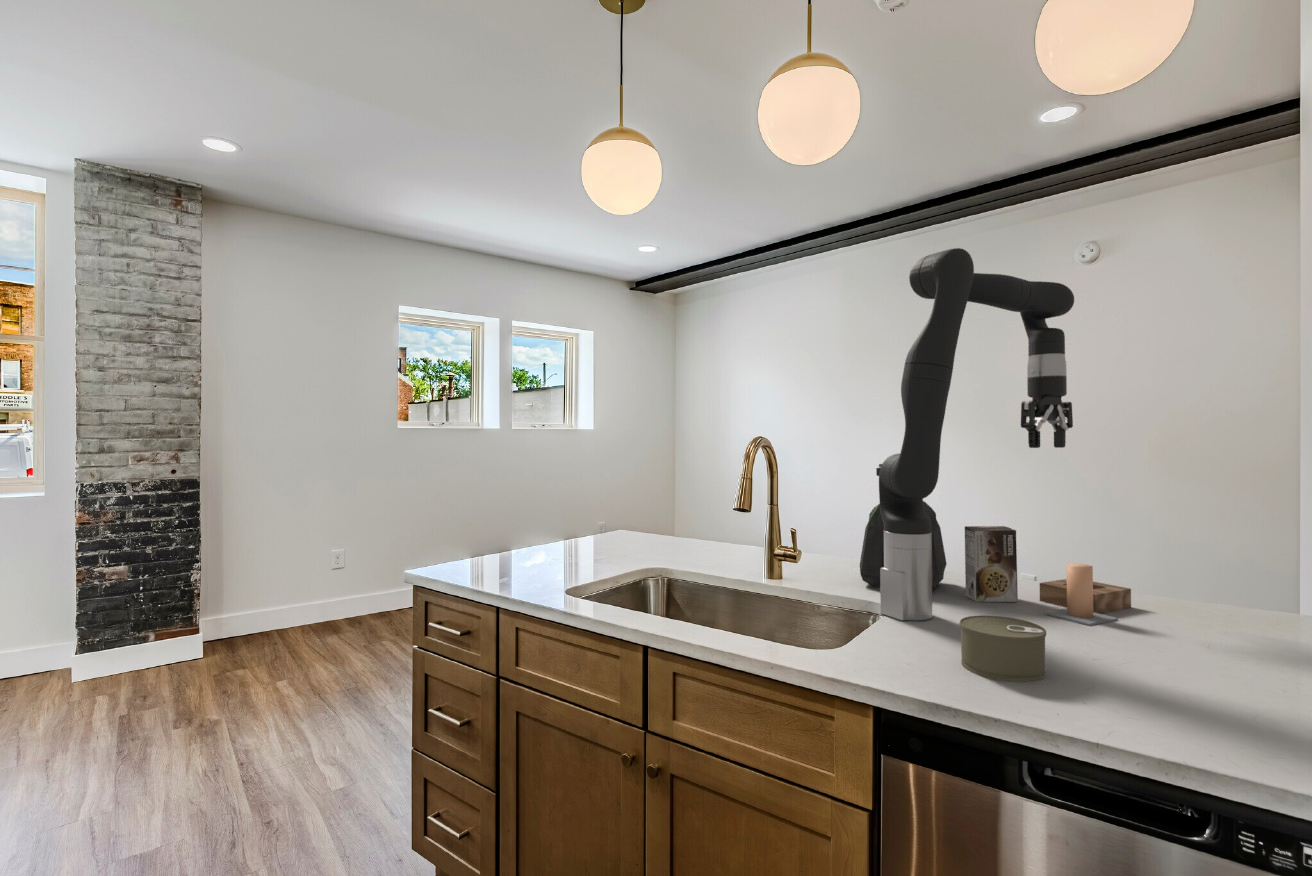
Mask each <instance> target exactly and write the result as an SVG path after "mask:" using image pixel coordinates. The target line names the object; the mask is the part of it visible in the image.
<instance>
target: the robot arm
mask: <svg viewBox="0 0 1312 876" xmlns="http://www.w3.org/2000/svg"><path fill="white" fill-rule="evenodd" d="M974 266H975V265H974V261H973V258H972V256H971V254H970V253H969V252H968V251H967V250H966V249H963V248H960V247H957V248H956V247H955V248H949V249H946V250H942V251H939V252H935V253H932V254H928V255H926V256H923V257H921V258H919V259H918V260H917V261H915V262H914V264H913V265H912V266H911V269H910V272H909V277H908V279H909V284H910V287H911V289H912V291H913V293H914V294H916V295H917V296H919V297H920V298H922V299H927V300H933V304H932V305H933V306H932V310H931V313H930V316H929V318H928V320H927V322H926V323H925V325H924V326H923V329H921V331H920V333H919V335H918V336H917V337H916V339H915V341H914V342H913V343H912V345H911V347H910V348H909V349H908V350H909V351H908V352H907V354H906V358H905V360H904V361H905V362H904V366H903V367H904V368H903V371H902V378H901V385H900V395H901V404H902V408H903V415H904V424H905V425H904V426H905V427H904V435H903V440H902V446H901V449H900V453H894V454H892V455H889V456H888V457H886V458H885V460H884V461H883V462H882V463H881V464H882V466H881V467H879V468H880V472H879V476H878V492H879V493H878V494H879V495H878V498H879V504H880V513H881V517H882V519H883V523H884V567H882V568H881V569H880V587H879V588H880V589H879V590H880V593H879V594H880V614H882V615H886V616H888V617H890V618H894V619H895V620H896V619H897V620H900V621H926V620H930V619H932V618H933V589H932V522H931V519H930V518H929V516H928V515H927V513H926V512H925V509H924V506H923V501H924V499H926V498H927V497H929V495H931V494H932V493H933V492H934V490H935V489H936V486H937V484H938V480H939V473H940V457H941V456H940V455H941V444H942V443H941V441H942V431H943V426H944V421H945V416H946V415H945V414H946V410H947V408H946V407H947V402H948V397H949V393H950V389H951V388H950V387H951V384H952V383H951V382H952V376H953V371H954V364H955V355H956V349H957V347H958V340H959V335H960V330H961V326H962V322H963V318H964V315H965V311H966V307H967V303H968V302H969V303H974V304H975V303H976V304H980V305H985V306H989V307H993V308H998V309H1002V310H1005V311H1010V312H1012V313H1013V312H1015V313H1020V317H1021V320H1022V322H1023V326H1024V329H1025V333H1026V336H1027V340H1028V349H1027V350H1028V351H1027V352H1028V353H1027V354H1028V358H1027V373H1026V374H1027V375H1026V378H1027V379H1026V380H1027V383H1026V384H1027V397H1029V398H1032V400H1023V401H1022V402H1021V403H1020V404H1021V406H1020V427H1021V428H1022V429H1025V430H1026V431H1027V432H1028V434H1027V435H1028V437H1027V438H1028V441H1027V442H1028V447H1029V448H1030V449H1039V448H1040V447H1041V431H1040V430H1041V428H1042V426H1043V425H1044V424H1046V422H1048V424H1051V427H1052V428H1053V430H1054V431H1053V447H1054V448H1056V449H1057V448H1061V449H1062V448H1065V447H1066V439H1067V438H1066V435H1067V434H1066V433H1067V432H1066V431H1068V430H1069V429H1072V428H1073V427H1074V425H1073V422H1074V420H1073V419H1074V417H1073V403H1072V402H1071V401H1062V397H1065V396H1067V394H1068V393H1067V392H1068V391H1067V388H1068V387H1067V385H1068V384H1067V383H1068V382H1067V361H1066V337H1065V331H1064V330H1063V329H1061V328H1058V327H1049V326H1048V324H1047V321H1046V319H1051V318H1056V317H1061V316H1064V315H1065V314H1068V313H1069V312H1070V311H1071V310H1072V309H1073V307H1074V303H1075V295H1074V293H1073V291H1072V290H1071V288H1069V287H1068V286H1067V285H1065V284H1063V283H1059V282H1054V281H1035V280H1034V281H1033V280H1032V281H1030V280H1027V279H1023V278H1019V277H1017V276H1014V275H1013V276H1012V275H1008V274H1007V275H1006V274H1002V273H1001V274H1000V273H982V272H981V273H980V272H977V273H976V272H975V267H974ZM1027 419H1028V422H1027ZM1066 421H1067V422H1066Z"/></svg>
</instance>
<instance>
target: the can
mask: <svg viewBox="0 0 1312 876" xmlns="http://www.w3.org/2000/svg"><path fill="white" fill-rule="evenodd" d="M959 626H960V642H961V643H960V645H961V650H960V651H961V661H960V662H961V666H962V667H963V668H964V669H965V670H967V671H969V672H970V673H973V674H975V675H978V676H979V677H983V678H986V679H990V680H996V681H1000V682H1001V681H1002V682H1009V683H1033V682H1038V681H1041V680H1043V679H1045V677H1046V671H1045V670H1046V636H1047V630H1046V628H1044V627H1043V626H1041V625H1039V624H1037V623H1034V622H1031V621H1027V620H1024V619H1019V618H1014V617H1007V616H1002V615H1001V616H999V615H969V616H966V617H963V618H961V619H960V620H959Z"/></svg>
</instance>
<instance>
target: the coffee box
mask: <svg viewBox="0 0 1312 876" xmlns="http://www.w3.org/2000/svg"><path fill="white" fill-rule="evenodd" d="M1017 553H1018V552H1017V529H1013V528H1010V527H1008V526H1004V525H1001V526H1000V525H997V526H996V525H992V526H991V525H987V526H986V525H982V526H979V525H978V526H975V525H974V526H964V565H965V567H964V568H965V571H964V574H965V577H964V579H965V596H967V597H968V598H969V599H971V600H973V601H974V602H976V603H978V602H979V603H981V602H982V603H984V602H985V603H987V602H990V603H991V602H993V603H999V602H1001V603H1002V602H1003V603H1005V602H1006V603H1017V602H1019V600H1018V599H1019V598H1018V597H1019V596H1018V595H1019V594H1018V564H1017V563H1018V560H1017V558H1018V557H1017V555H1018V554H1017Z"/></svg>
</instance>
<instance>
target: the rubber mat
mask: <svg viewBox="0 0 1312 876" xmlns="http://www.w3.org/2000/svg"><path fill="white" fill-rule="evenodd" d="M1043 615H1045V616H1049V615H1050V617H1053V618H1057V617H1058V619H1061V620H1065V621H1069V622H1073V623H1077V624H1081V625H1084V626H1089V627H1090V626H1095V625H1099V624H1104V623H1105V624H1106V623H1109V622H1115V621H1118V617H1115V616H1110V615H1107V614H1104V613H1099V614H1098V613H1094V612H1093V617H1092V618H1079V617H1074V616H1070V615H1068V614H1067V607H1064V608H1061V609H1055V610H1054V609H1053V610H1050V611H1045V612H1043Z"/></svg>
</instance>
